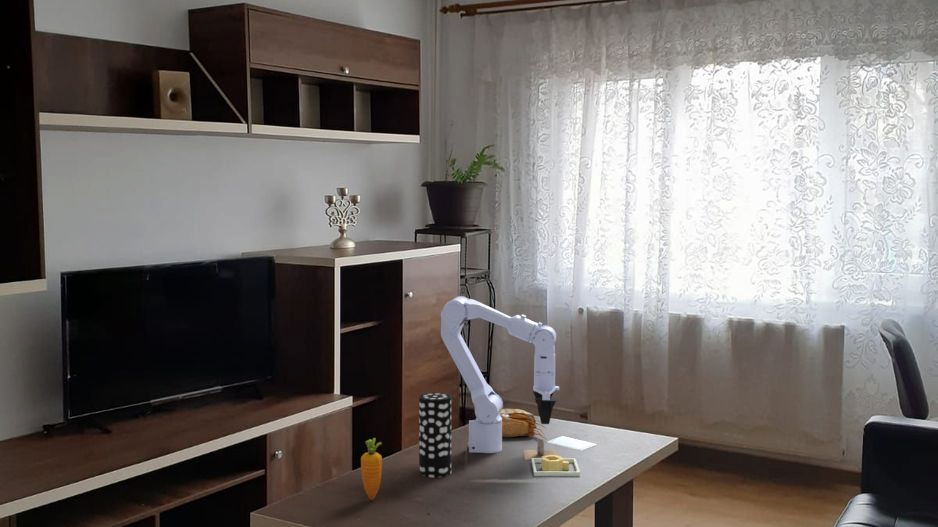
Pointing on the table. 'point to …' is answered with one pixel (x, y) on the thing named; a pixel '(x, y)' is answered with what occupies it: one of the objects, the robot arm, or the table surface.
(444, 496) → the table surface
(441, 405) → the spotted tube
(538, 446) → the tan square peg base
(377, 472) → the carrot
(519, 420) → the nautilus
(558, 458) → the ring
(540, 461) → the tray
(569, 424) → the table surface
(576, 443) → the hard drive
